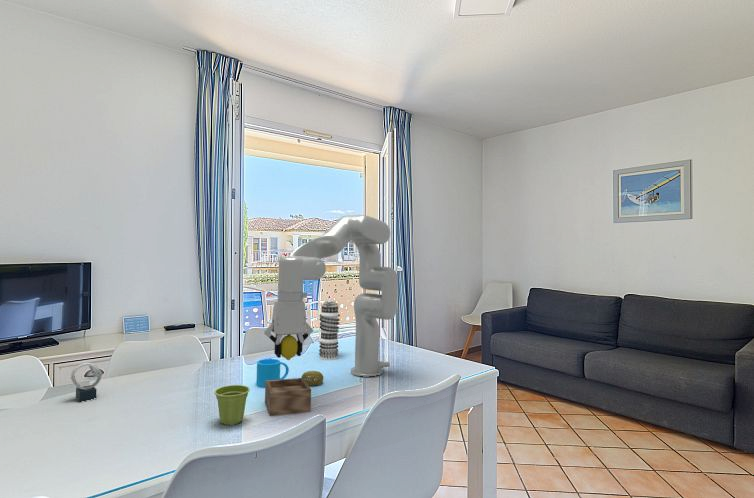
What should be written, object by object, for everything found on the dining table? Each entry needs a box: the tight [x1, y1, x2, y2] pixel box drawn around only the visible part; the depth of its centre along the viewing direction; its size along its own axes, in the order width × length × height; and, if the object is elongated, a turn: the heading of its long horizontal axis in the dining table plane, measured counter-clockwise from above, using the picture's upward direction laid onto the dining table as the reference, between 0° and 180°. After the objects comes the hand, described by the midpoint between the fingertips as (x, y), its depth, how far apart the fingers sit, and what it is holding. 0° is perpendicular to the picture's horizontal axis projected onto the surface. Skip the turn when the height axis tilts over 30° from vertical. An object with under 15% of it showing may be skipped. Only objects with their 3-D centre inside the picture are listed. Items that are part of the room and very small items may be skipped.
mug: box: [255, 358, 290, 389], centre depth 153 cm, size 12×8×8 cm
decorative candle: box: [318, 301, 341, 361], centre depth 192 cm, size 9×9×25 cm
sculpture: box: [300, 370, 324, 387], centre depth 154 cm, size 8×4×8 cm
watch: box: [70, 362, 103, 403], centre depth 133 cm, size 6×8×11 cm
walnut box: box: [264, 377, 312, 417], centre depth 131 cm, size 12×12×7 cm
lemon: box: [280, 334, 298, 361], centre depth 131 cm, size 6×6×8 cm
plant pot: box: [213, 384, 251, 426], centre depth 119 cm, size 9×9×9 cm
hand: (288, 355), depth 131 cm, fingers closed on lemon, 5 cm apart
